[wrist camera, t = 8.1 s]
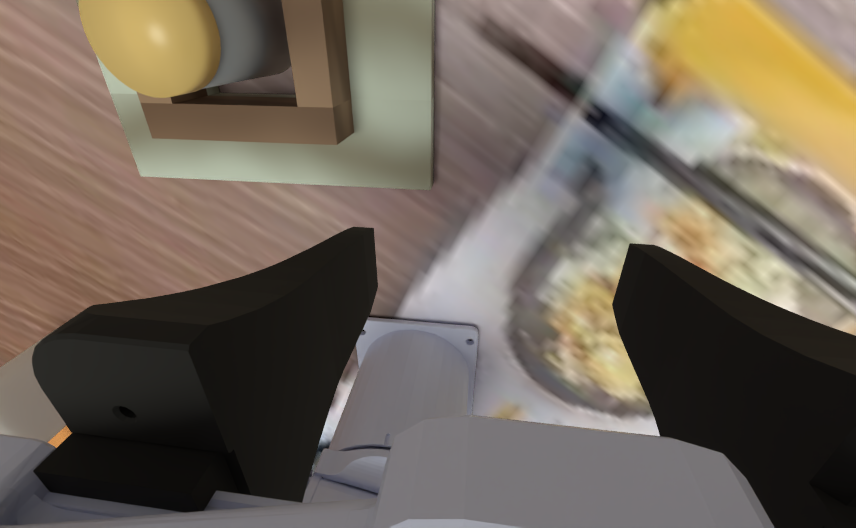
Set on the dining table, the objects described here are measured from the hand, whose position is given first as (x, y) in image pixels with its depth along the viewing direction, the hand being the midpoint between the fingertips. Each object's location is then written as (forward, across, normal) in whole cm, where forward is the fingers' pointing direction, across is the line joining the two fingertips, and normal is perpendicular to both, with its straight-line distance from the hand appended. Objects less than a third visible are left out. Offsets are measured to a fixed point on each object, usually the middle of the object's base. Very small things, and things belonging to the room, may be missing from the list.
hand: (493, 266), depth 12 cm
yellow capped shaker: (+10, +11, -6) cm, 16 cm away
